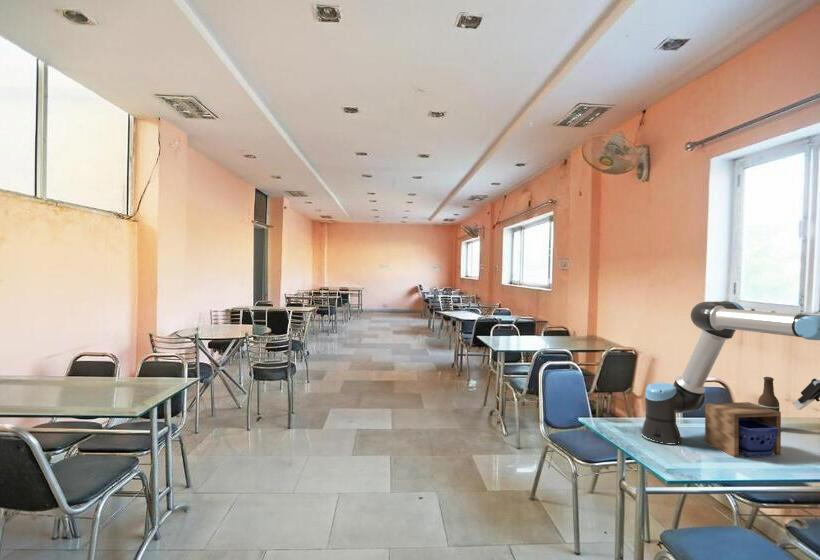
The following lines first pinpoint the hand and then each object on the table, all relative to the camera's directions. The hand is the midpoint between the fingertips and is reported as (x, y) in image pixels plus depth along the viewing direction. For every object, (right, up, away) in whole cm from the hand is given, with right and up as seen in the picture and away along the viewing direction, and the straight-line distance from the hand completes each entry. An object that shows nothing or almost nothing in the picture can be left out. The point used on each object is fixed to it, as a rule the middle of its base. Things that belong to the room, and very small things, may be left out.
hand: (796, 406), depth 155 cm
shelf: (-3, -24, +22) cm, 33 cm away
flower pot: (-3, -24, +18) cm, 31 cm away
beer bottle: (+29, -25, +47) cm, 60 cm away
